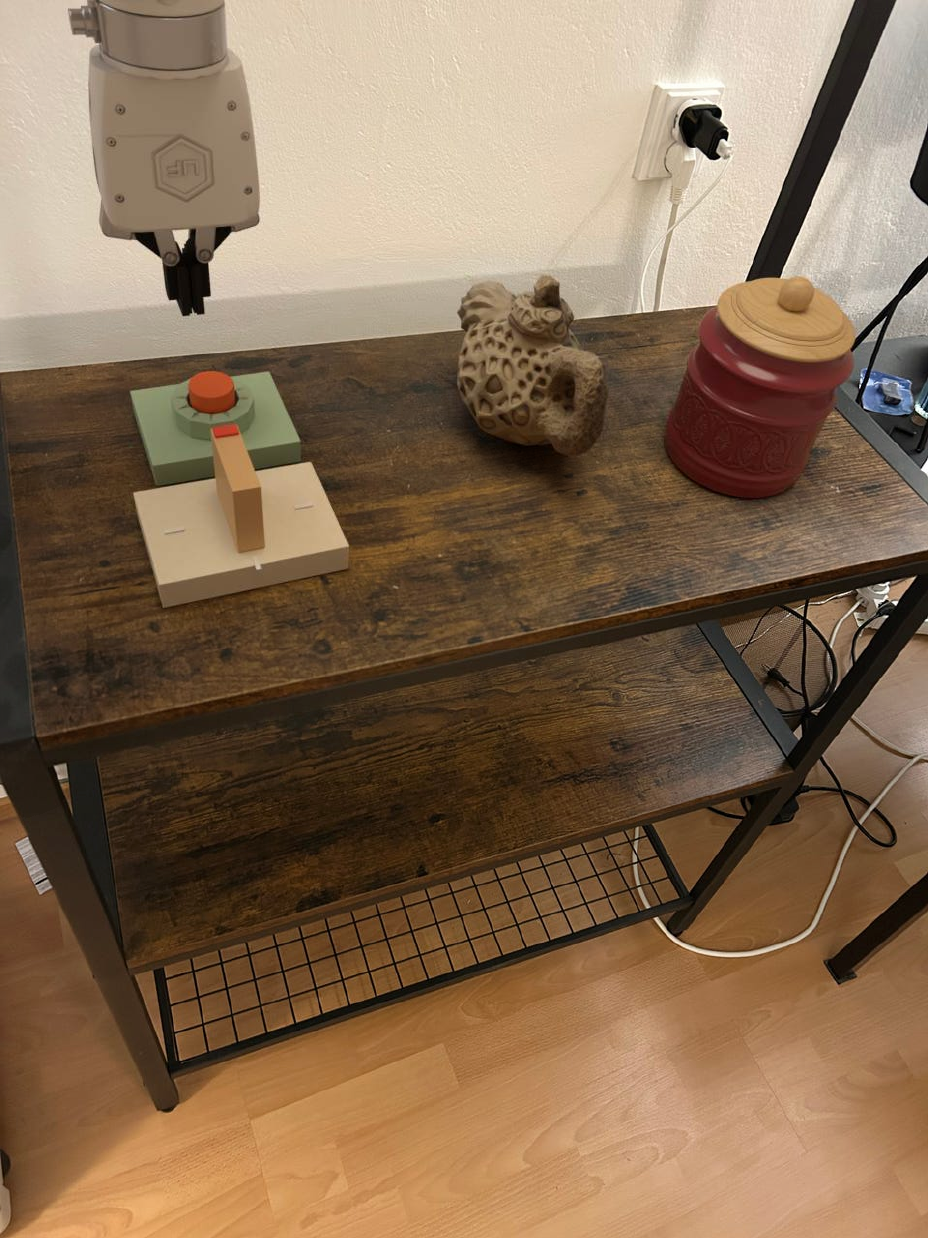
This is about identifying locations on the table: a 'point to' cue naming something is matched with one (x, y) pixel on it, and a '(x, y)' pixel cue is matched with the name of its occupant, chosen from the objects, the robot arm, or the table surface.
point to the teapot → (529, 368)
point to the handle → (238, 487)
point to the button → (211, 392)
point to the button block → (185, 436)
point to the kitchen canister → (759, 386)
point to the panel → (205, 549)
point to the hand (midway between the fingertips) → (189, 305)
